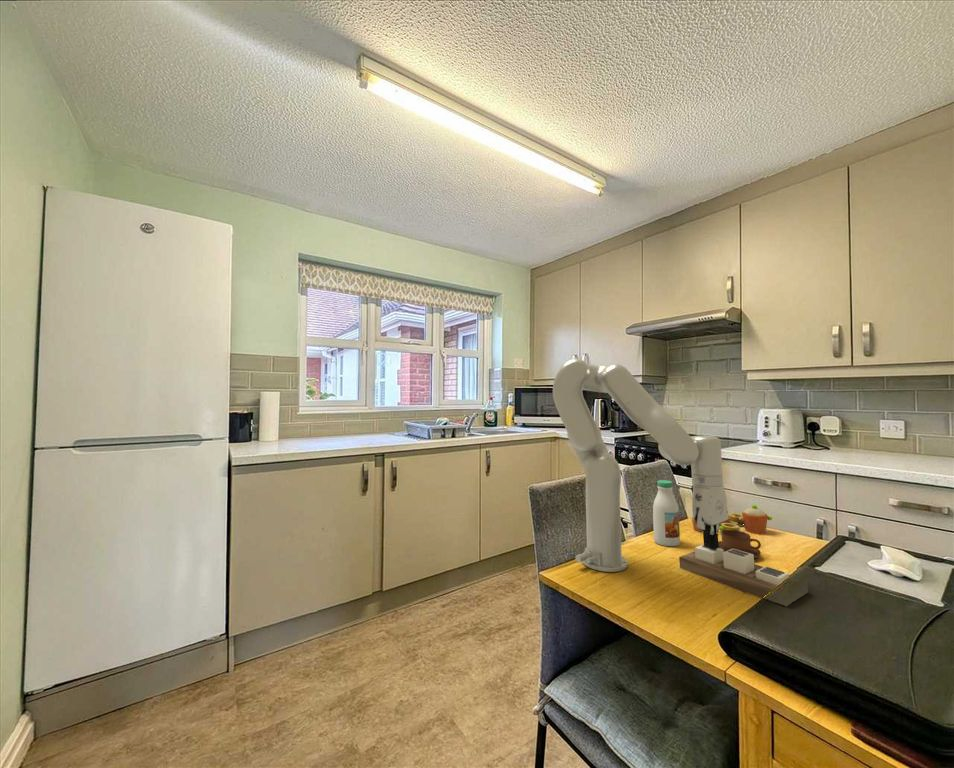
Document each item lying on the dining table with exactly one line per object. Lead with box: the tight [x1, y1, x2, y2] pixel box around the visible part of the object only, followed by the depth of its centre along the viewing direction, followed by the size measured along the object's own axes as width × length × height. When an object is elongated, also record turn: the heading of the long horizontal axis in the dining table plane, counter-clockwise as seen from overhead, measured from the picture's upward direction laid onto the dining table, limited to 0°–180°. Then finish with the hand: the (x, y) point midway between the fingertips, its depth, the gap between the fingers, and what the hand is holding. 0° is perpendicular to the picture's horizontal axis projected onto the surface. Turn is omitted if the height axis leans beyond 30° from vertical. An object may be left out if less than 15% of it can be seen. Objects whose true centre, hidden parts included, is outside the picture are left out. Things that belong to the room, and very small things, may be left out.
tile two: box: [723, 549, 755, 575], centre depth 103 cm, size 5×5×4 cm
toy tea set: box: [691, 504, 773, 536], centre depth 141 cm, size 26×16×10 cm, turn 109°
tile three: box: [756, 566, 790, 585], centre depth 96 cm, size 5×5×4 cm
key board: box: [678, 550, 791, 599], centre depth 103 cm, size 12×25×3 cm, turn 32°
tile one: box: [694, 543, 723, 564], centre depth 109 cm, size 5×5×4 cm
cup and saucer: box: [718, 530, 762, 559], centre depth 120 cm, size 12×12×6 cm
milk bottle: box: [652, 479, 681, 547], centre depth 130 cm, size 8×8×20 cm
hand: (711, 547), depth 109 cm, fingers closed
